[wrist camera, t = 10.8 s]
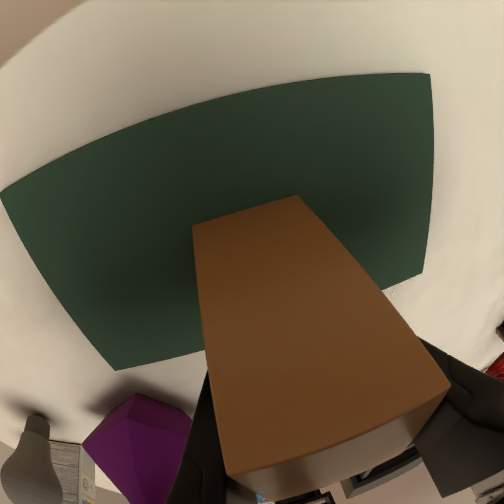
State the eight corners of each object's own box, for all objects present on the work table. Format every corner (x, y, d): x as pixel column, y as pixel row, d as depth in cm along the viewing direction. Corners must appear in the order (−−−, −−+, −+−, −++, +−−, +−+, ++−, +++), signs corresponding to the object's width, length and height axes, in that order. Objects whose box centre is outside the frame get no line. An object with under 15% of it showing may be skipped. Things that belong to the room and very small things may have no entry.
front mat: (115, 366, 16) (115, 371, 16) (2, 190, 9) (-2, 193, 9) (418, 269, 17) (422, 273, 17) (424, 73, 10) (430, 74, 10)
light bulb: (2, 397, 16) (-15, 495, 8) (47, 401, 17) (36, 513, 9) (33, 427, 19) (26, 514, 11) (77, 431, 20) (75, 527, 12)
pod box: (224, 311, 15) (271, 502, 7) (191, 225, 12) (225, 475, 4) (309, 284, 15) (402, 453, 7) (297, 194, 12) (453, 384, 4)
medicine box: (39, 449, 22) (35, 510, 15) (22, 433, 20) (15, 500, 12) (96, 457, 24) (97, 524, 17) (82, 443, 21) (81, 518, 14)
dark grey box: (335, 444, 33) (354, 489, 26) (420, 404, 34) (443, 443, 27) (333, 465, 41) (347, 499, 35) (400, 435, 42) (416, 466, 35)
